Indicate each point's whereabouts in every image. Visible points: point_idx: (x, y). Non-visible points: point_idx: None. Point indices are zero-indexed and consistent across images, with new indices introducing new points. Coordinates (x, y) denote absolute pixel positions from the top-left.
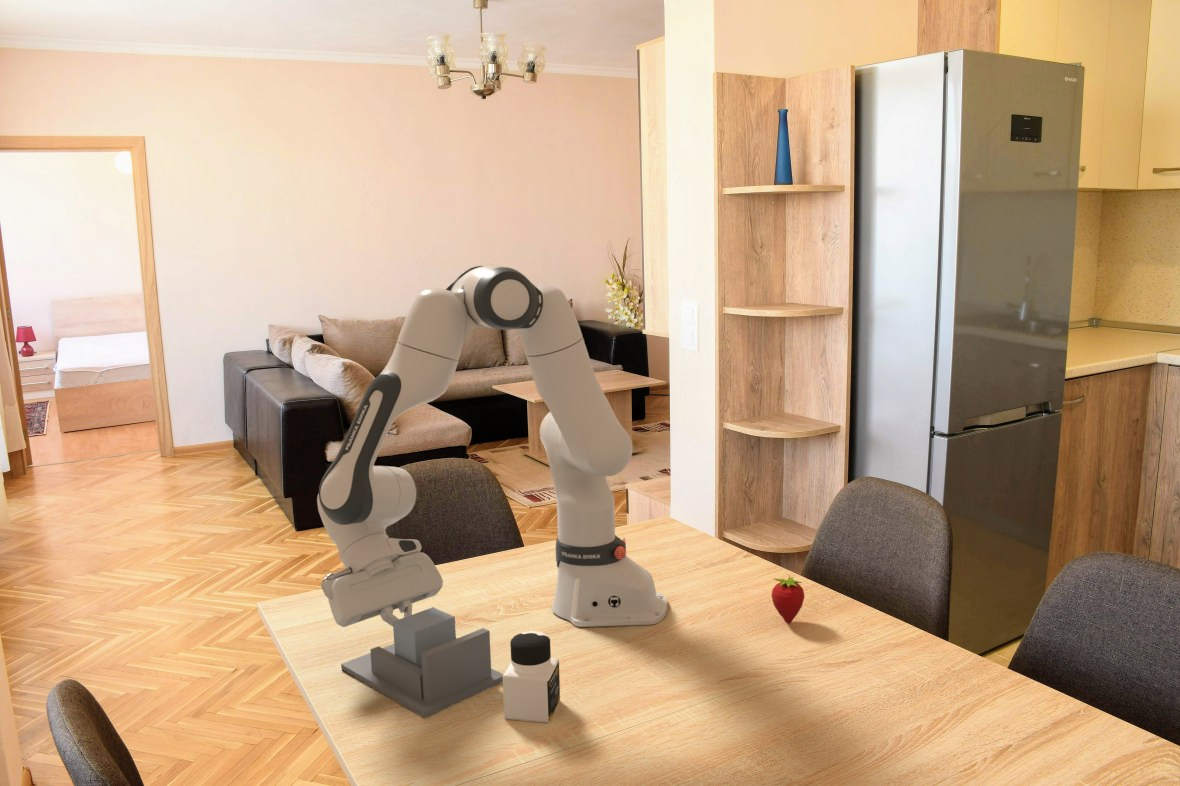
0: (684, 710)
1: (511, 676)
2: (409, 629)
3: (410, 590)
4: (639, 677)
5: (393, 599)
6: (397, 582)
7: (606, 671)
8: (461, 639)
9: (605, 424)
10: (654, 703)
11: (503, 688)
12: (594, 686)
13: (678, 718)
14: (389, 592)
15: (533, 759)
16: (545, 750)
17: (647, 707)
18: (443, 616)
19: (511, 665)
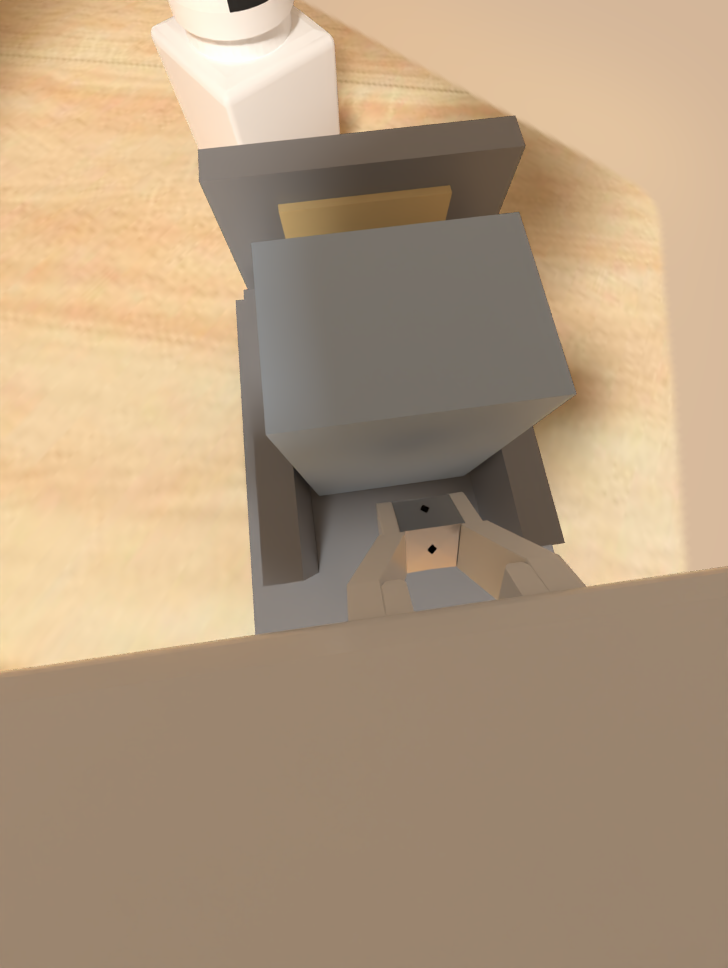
0: (83, 56)
1: (317, 25)
2: (528, 250)
3: (310, 685)
4: (29, 166)
5: (529, 618)
6: (461, 908)
7: (51, 219)
8: (334, 150)
9: None
10: (98, 93)
11: (337, 93)
12: (121, 189)
13: (113, 47)
14: (597, 710)
15: (378, 85)
16: (346, 91)
17: (118, 91)
18: (296, 280)
19: (279, 56)
